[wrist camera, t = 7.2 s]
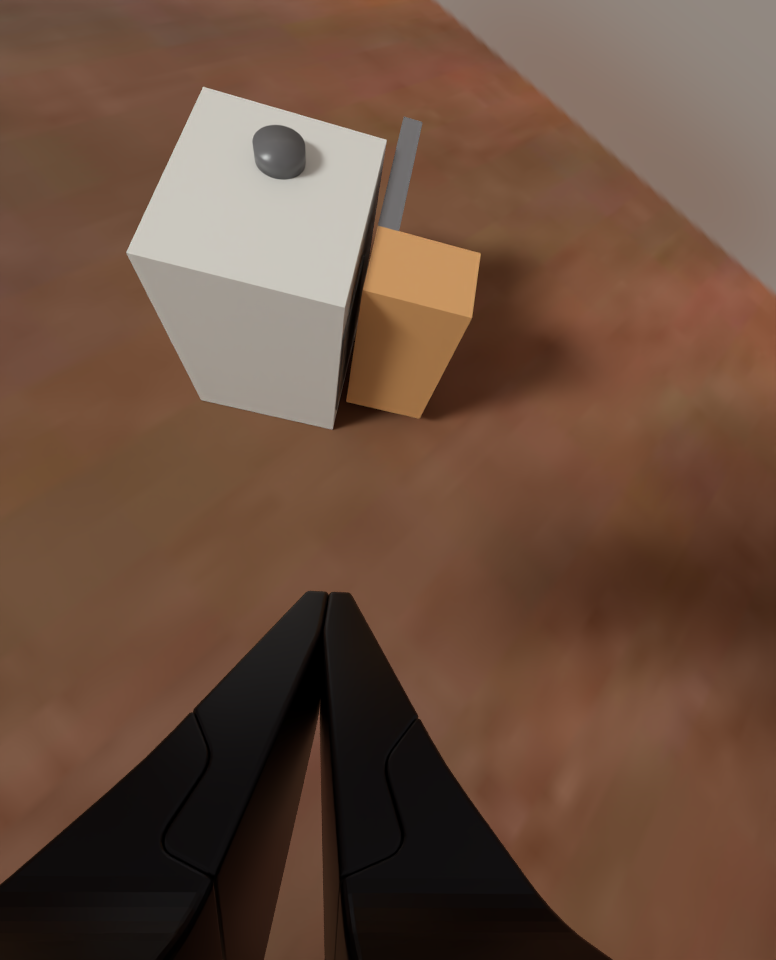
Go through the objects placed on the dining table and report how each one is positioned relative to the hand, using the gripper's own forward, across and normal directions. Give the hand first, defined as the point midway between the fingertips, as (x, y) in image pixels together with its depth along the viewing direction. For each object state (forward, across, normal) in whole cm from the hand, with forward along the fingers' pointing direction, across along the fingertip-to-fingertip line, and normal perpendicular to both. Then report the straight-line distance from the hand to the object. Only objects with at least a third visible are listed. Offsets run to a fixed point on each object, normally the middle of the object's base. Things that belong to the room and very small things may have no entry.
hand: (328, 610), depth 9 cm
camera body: (+19, +4, -2) cm, 20 cm away
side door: (+19, -2, -3) cm, 20 cm away
